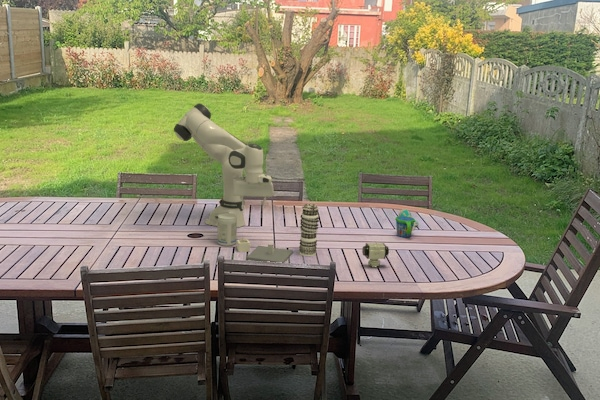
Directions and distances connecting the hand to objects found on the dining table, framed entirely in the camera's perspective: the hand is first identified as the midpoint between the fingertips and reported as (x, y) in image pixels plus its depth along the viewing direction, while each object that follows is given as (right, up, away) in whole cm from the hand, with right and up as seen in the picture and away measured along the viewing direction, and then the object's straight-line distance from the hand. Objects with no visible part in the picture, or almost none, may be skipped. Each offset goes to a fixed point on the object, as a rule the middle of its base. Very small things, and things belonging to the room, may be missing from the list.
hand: (253, 204), depth 300 cm
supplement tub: (-14, -20, +8) cm, 26 cm away
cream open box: (-5, -22, -1) cm, 23 cm away
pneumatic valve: (+59, -30, -13) cm, 67 cm away
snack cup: (+81, -18, +37) cm, 91 cm away
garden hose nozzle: (+87, -13, +59) cm, 106 cm away
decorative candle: (+27, -24, 0) cm, 36 cm away
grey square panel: (+9, -25, -7) cm, 27 cm away
